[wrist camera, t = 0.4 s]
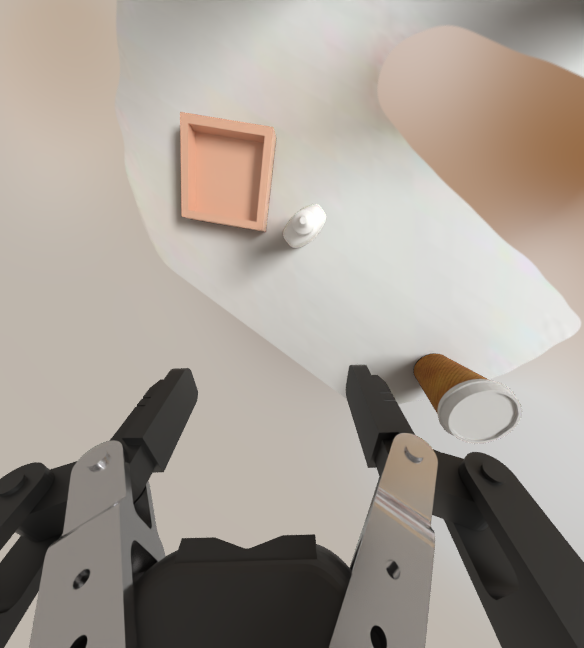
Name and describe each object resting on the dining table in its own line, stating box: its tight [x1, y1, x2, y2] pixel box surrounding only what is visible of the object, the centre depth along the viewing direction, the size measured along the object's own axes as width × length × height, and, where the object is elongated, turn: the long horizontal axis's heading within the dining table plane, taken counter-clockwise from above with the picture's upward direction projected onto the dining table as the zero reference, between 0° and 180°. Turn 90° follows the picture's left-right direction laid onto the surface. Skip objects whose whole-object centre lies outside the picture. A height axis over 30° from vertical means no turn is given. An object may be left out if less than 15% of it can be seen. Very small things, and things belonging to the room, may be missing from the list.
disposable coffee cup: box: [414, 354, 522, 444], centre depth 32 cm, size 10×10×12 cm
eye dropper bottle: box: [283, 204, 326, 248], centre depth 26 cm, size 4×6×12 cm
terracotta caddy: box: [180, 112, 276, 232], centre depth 29 cm, size 12×12×2 cm
